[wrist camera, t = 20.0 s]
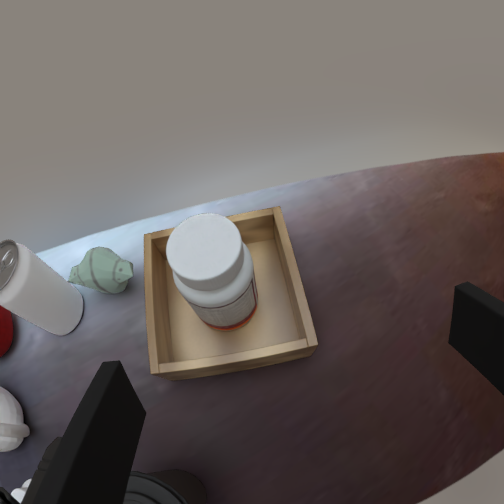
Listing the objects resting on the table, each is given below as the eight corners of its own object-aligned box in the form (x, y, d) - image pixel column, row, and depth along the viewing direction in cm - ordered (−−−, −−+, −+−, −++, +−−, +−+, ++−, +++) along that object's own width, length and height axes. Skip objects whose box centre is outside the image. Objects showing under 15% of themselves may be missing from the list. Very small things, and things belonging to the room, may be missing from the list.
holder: (279, 235, 34) (279, 205, 29) (311, 356, 27) (318, 344, 23) (160, 259, 34) (143, 234, 29) (171, 381, 27) (150, 374, 22)
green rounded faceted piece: (89, 303, 32) (56, 279, 26) (93, 272, 34) (64, 243, 28) (150, 300, 31) (123, 273, 25) (152, 266, 33) (128, 234, 27)
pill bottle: (206, 269, 32) (175, 201, 22) (264, 279, 31) (258, 211, 21) (189, 325, 29) (144, 277, 19) (251, 339, 28) (236, 295, 18)
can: (93, 314, 31) (26, 266, 20) (57, 347, 29) (-15, 311, 19) (73, 276, 33) (14, 223, 23) (40, 307, 32) (-24, 264, 21)
